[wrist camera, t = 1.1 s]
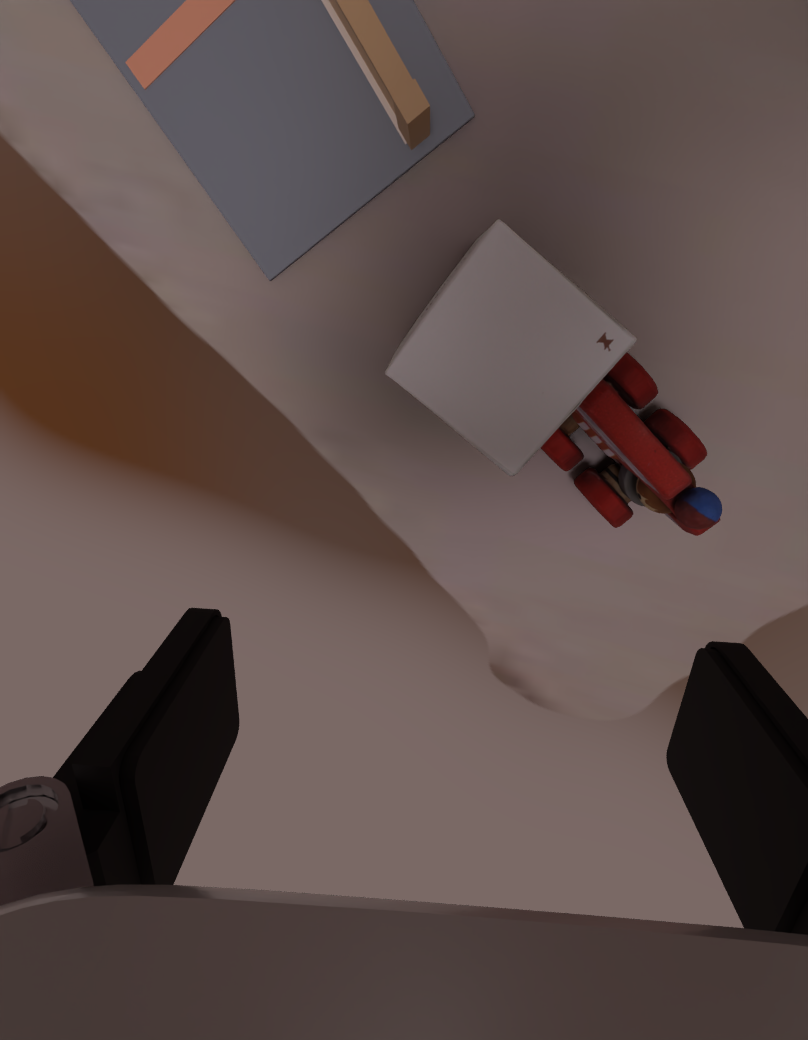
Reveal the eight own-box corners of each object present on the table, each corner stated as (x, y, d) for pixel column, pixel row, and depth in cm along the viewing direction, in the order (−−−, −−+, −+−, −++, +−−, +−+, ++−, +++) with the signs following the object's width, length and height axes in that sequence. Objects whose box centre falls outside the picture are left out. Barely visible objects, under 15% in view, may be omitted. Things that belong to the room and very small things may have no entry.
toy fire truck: (619, 532, 38) (683, 614, 29) (499, 401, 35) (526, 444, 26) (708, 464, 36) (808, 528, 27) (589, 319, 33) (654, 332, 24)
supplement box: (475, 235, 32) (503, 207, 20) (570, 322, 33) (646, 341, 22) (395, 342, 34) (378, 372, 23) (487, 418, 36) (516, 482, 24)
